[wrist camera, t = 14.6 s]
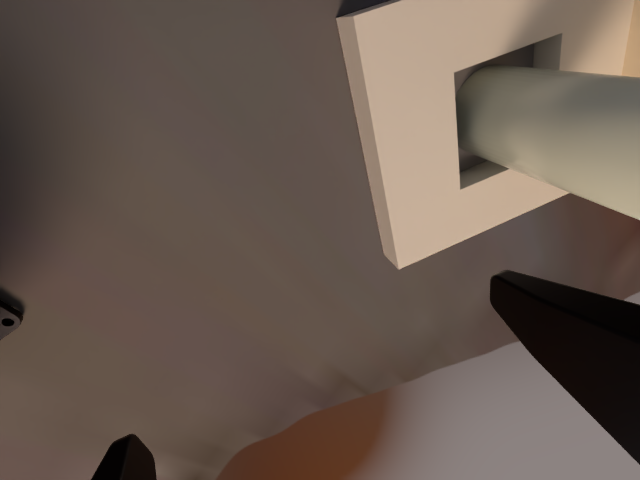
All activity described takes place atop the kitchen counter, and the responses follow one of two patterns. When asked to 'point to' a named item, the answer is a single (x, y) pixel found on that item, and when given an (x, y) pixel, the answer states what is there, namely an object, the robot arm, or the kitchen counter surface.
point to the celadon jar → (557, 129)
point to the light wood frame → (440, 108)
